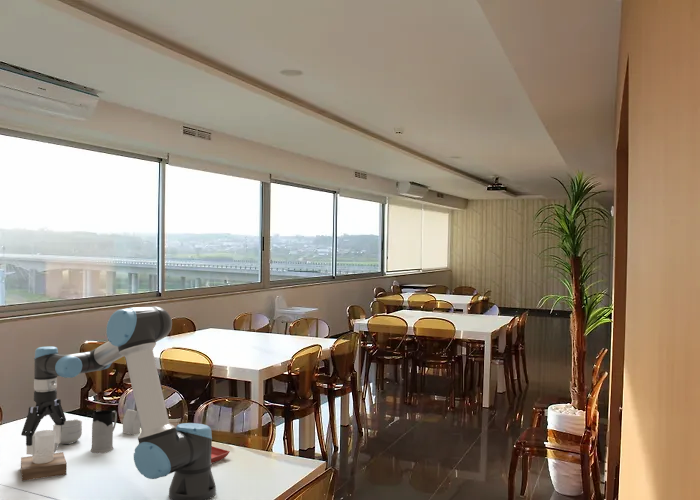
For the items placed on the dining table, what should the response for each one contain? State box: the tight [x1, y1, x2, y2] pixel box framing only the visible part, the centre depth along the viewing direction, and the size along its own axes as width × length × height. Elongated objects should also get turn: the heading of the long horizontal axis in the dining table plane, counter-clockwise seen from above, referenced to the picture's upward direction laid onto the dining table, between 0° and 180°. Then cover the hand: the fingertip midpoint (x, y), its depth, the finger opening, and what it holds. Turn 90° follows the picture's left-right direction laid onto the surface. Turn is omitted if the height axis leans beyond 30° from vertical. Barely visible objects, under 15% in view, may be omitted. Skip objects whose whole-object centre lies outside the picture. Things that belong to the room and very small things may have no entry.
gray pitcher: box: [89, 409, 118, 454], centre depth 250 cm, size 9×14×15 cm, turn 170°
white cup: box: [31, 429, 56, 464], centre depth 221 cm, size 8×8×10 cm
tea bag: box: [122, 408, 141, 436], centre depth 271 cm, size 4×7×10 cm, turn 61°
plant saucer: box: [211, 446, 230, 464], centre depth 237 cm, size 18×18×3 cm
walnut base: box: [20, 451, 68, 482], centre depth 221 cm, size 14×14×4 cm
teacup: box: [54, 418, 83, 445], centre depth 258 cm, size 14×11×8 cm
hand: (44, 448), depth 221 cm, fingers open, 13 cm apart
